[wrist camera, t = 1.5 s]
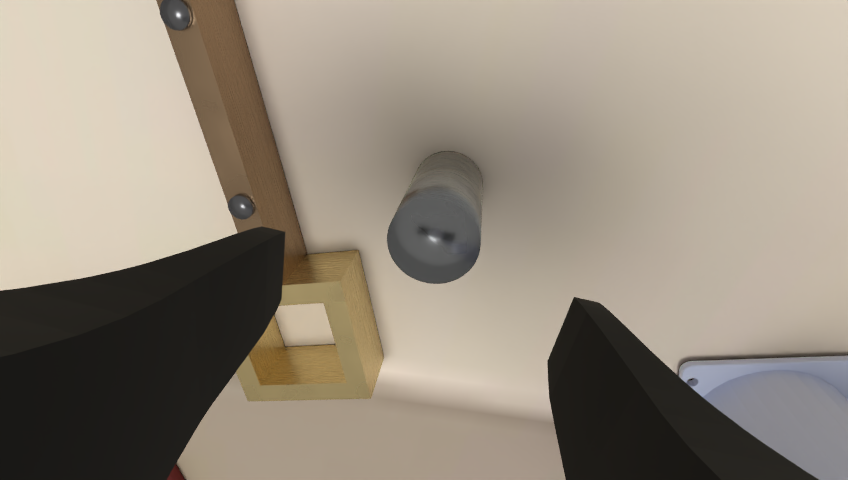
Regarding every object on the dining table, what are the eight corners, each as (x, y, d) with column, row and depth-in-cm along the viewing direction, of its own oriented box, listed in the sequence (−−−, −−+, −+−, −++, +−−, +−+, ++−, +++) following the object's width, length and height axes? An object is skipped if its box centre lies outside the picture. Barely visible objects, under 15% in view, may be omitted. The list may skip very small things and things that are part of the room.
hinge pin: (485, 213, 20) (484, 280, 15) (420, 219, 21) (396, 286, 15) (478, 147, 19) (474, 193, 14) (409, 155, 19) (379, 203, 14)
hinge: (384, 357, 24) (369, 401, 21) (53, 371, 28) (4, 409, 25) (267, -134, 16) (218, -171, 13) (-185, -18, 20) (-301, -26, 17)
